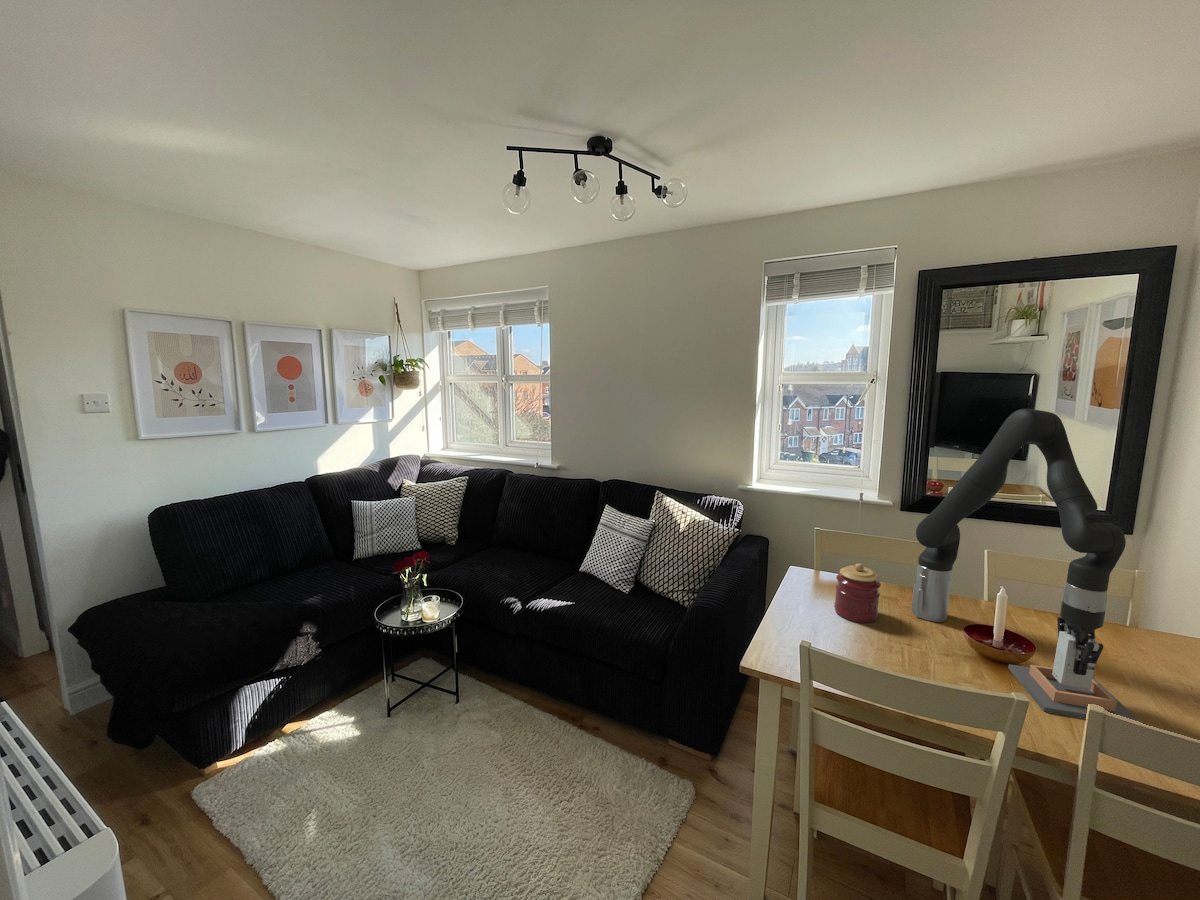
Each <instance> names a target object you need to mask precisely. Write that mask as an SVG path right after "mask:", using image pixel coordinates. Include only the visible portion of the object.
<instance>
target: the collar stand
mask: <svg viewBox="0 0 1200 900" xmlns="http://www.w3.org/2000/svg"><path fill="white" fill-rule="evenodd" d="M1007 667H1008V670H1009V671H1010V672H1011V673H1012V675H1013V676H1014V677H1015V679H1016V680H1017V681H1018V682H1019V683H1020V684H1021V686H1022V687H1023V688H1024V690H1025V691H1026V692H1027V694H1029V696H1030V697H1031V698H1032V699H1033V700H1034V702H1035V703H1036V704H1037V705H1038V706H1039V708H1040V709H1041V710H1042V711H1043V712H1044V713H1049V714H1056V715H1060V716H1061V715H1062V716H1065V717H1073V718H1078V717H1079V718H1080V717H1081V718H1080V719H1085V718H1086V713H1087V706H1088V704H1096V705H1099V706H1101V707H1103V708H1104V709H1105V710H1107V711H1108V712H1110V713H1113V714H1116V715H1120V716H1123V717H1126V718H1129V719H1132V720H1135V721H1139V722H1142V721H1141V720H1140V719H1138V717H1136V716H1135V714H1133V713H1132V712H1131V711H1130V710H1129V709H1128V708H1127V707H1126V706H1125V705H1124V704H1122V702H1120V700H1118V699H1117V698H1116V697H1115V696H1114V695H1113V694H1112V693H1111V692H1110V691H1108V689H1106V688H1105V686H1103V685H1102V684H1101V683H1100V682H1099V681H1098V680H1097V679H1095V678H1094V677H1093V680H1092V685H1091V688H1090V689H1086V688H1080V687H1074V686H1068V685H1063V684H1060V683H1059V682H1058V681H1057V680H1056V679H1055V677H1054V676H1053V675H1052V673H1053V667H1050V666H1042V665H1036V664H1035V665H1034V664H1030V665H1029V666H1023V665H1016V664H1010V663H1009V664H1008V666H1007ZM1085 720H1086V719H1085Z"/></svg>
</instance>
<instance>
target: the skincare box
mask: <svg viewBox="0 0 1200 900" xmlns="http://www.w3.org/2000/svg"><path fill="white" fill-rule="evenodd" d="M1095 641H1096V640H1095ZM1096 642H1097V643H1099V642H1098V641H1096ZM1073 644H1074V639H1073V638H1072V636H1071V634H1067V633H1066V632H1063V631H1059V637H1058V636H1057V644H1056V650H1055V657H1054V660H1053V667H1052V668H1053V673H1052V675H1053V676H1054V677H1055V679H1056V680H1057V681H1058V682H1059V683H1060V684H1063V685H1068V686H1074V687H1080V688H1086V689H1090V688H1091V685H1092V680H1093V678H1094V673H1095V667H1096V664H1093V663H1088V666H1087V672H1086V675H1077V674H1075V673H1074V672H1073V668H1074V662H1075V659H1076V657H1075V649H1073ZM1078 646H1079V647H1084V648H1085V646H1082V645H1078ZM1082 653H1083V651H1081V655H1082ZM1091 657H1092V656H1091Z"/></svg>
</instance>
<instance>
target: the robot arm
mask: <svg viewBox="0 0 1200 900" xmlns="http://www.w3.org/2000/svg"><path fill="white" fill-rule="evenodd" d="M1026 444H1027V445H1028V444H1029V445H1034V446H1036V447H1037V448H1038V450H1039V451H1040V452H1041V454H1042V456H1044V458H1045V462H1046V466H1047V467H1046V469H1047V470H1046V487H1047V489H1048V492H1049V494H1050V496H1051V498H1052V499H1053V502H1054V504H1055V506H1056V508H1057V509H1058V513H1059V521H1060V527H1061V535H1062V538H1063V541H1064V542H1065V544H1066V545H1067V546H1068V547H1069V548H1071V550H1073V551H1075V552H1077V553H1082V554H1086V555H1084V556H1083V557H1080V558H1075V559H1073V560H1071V561H1070V562H1069V564H1068V568H1067V575H1066V581H1065V585H1064V587H1063V593H1062V598H1061V599H1062V600H1061V606H1060V611H1059V612H1060V613H1059V616H1058V617H1056V618H1057V638H1058V637H1059V631H1063V632H1066V633H1067V634H1071V636H1072V638H1073V639H1074V644H1073V649H1075V657H1076V659H1075V662H1074V668H1073V672H1074V673H1075V674H1077V675H1086V672H1087V666H1088V663H1093V664H1095V665H1096V664H1097V662H1098V660H1099V658H1100V657H1101V654H1102V651H1103V649H1104V645H1103V644H1102V643H1099V642H1098V641H1097V642H1098V643H1097V642H1096V630H1098V629H1101V628H1103V626H1104V622H1105V617H1106V612H1107V611H1106V610H1107V604H1108V590H1109V589H1108V588H1109V584H1110V583H1109V582H1110V576H1111V573H1112V571H1113V570H1114V568H1115V567H1116V565H1117V563H1118V561H1119V560H1120V558H1121V556H1122V555H1123V553H1124V550H1125V548H1126V542H1127V541H1126V536H1125V533H1124V532H1123V530H1122V529H1121V528H1120V527H1119V526H1118V525H1116V524H1113V523H1110V522H1088V520H1087V517H1086V516H1090V515H1092V514H1094V513H1095V512H1097V510H1098V504H1097V501H1096V500H1095V497H1094V495H1093V494H1092V492H1091V490H1090V488H1089V487H1088V485H1087V483H1086V481H1085V480H1084V478H1083V476H1082V474H1081V471H1080V469H1079V467H1078V465H1077V462H1076V460H1075V456H1074V453H1073V450H1072V447H1071V444H1070V442H1069V438H1068V434H1067V431H1066V428H1065V426H1064V423H1063V421H1062V419H1061V417H1059V416H1058V415H1057V414H1055V413H1054V412H1050V411H1046V410H1039V409H1033V408H1020V409H1018V410H1016V411H1013V412H1012V413H1010V415H1009V416H1008V417H1006V419H1005V420H1004V421H1003V423H1002V424H1001V426H1000V427H999V429H998V431H996V433H995V435H994V436H993V438H992V440H991V441H990V443H989V444H987V447H986V448H985V449H984V450H983V451H982V453H981V454H980V455H979V457H977V459H976V460H975V461H974V463H973V464H972V465H971V466H970V467H969V468H968V469H967V470H966V471H965V473H964V474H963V475H962V476H961V477H960V478H959V480H957V482H956V483H955V485H953V487H952V488H951V490H949V492H948V493H947V494H946V496H945V497H944V498H943V499H942V501H941V502H940V503H939V504H938V505H937V506H936V507H935V508H934V509H933V510H932V511H931V512H930V513H929V514H928V515H926V517H924V518H923V519H922V520H921V521H920V522H919V523H918V524H917V525H916V526H917V527H916V530H915V537H916V540H917V541H918V543H919V544H920V545H921V546H923V547H925V549H924V550H923V551H922V552H921V553H920V554H919V556H918V563H917V571H916V582H913V587H912V588H913V591H912V597H911V598H912V599H911V611H912V613H913V614H914V615H915V617H916V618H919V619H922V620H925V621H928V622H932V623H933V622H935V623H943V622H946V621H947V618H948V612H949V611H948V609H949V602H950V592H951V585H952V584H951V583H952V577H953V576H952V575H953V568H954V564H955V562H957V558H958V554H959V546H960V539H961V531H960V527H959V525H958V524H959V523H960V522H961V521H962V520H964V519H965V518H967V517H968V516H969V515H972V514H973V513H974V512H976V511H977V510H979V509H981V508H982V507H984V506H985V505H986V504H987V503H989V502H990V501H991V500H992V499H993V498H994V496H995V495H996V494H998V492H999V491H1001V489H1002V488H1003V486H1004V485H1005V483H1006V481H1007V474H1008V466H1009V463H1010V461H1011V459H1012V458H1013V457H1014V455H1015V454H1017V452H1018V451H1019V450H1020V449H1022V447H1023V446H1024V445H1026ZM1078 645H1082V646H1085V648H1084V647H1079V646H1078ZM1081 651H1083V653H1082V655H1081ZM1091 656H1092V657H1091Z"/></svg>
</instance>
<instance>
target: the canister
mask: <svg viewBox="0 0 1200 900" xmlns="http://www.w3.org/2000/svg"><path fill="white" fill-rule="evenodd" d="M836 580H837V583H836V585H835V598H834V599H835V600H834V605H833V607H834V612H835V613H836V614H837V615H838V616H840V617H841V618H843V619H845V620H849V621H851V622H855V623H864V624H865V623H866V624H867V623H873V622H875V621H876V620H877V619H878V615H879V602H880V601H879V600H880V595H881V593H880V590H879V589H880V588H881V582H880V581H879V576H878V574H877V573H876V572H874V571H873V569H870V568H869V567H866V566H864V565H863V564H862V563H860V562H859V563H855V565H852V564H851V565H847V566H844V567H842V568H840V569H839V573H838V574H837V575H836Z"/></svg>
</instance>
